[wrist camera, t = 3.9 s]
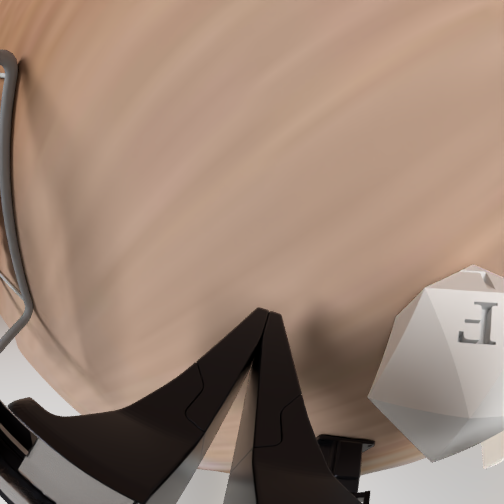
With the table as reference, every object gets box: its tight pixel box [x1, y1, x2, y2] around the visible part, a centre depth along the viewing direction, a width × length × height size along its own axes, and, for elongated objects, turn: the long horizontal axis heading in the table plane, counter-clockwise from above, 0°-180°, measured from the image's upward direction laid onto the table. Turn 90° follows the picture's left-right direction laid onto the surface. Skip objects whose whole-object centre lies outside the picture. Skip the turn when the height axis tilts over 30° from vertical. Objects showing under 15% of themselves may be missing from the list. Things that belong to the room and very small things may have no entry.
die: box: [367, 264, 504, 462], centre depth 8 cm, size 8×9×10 cm
